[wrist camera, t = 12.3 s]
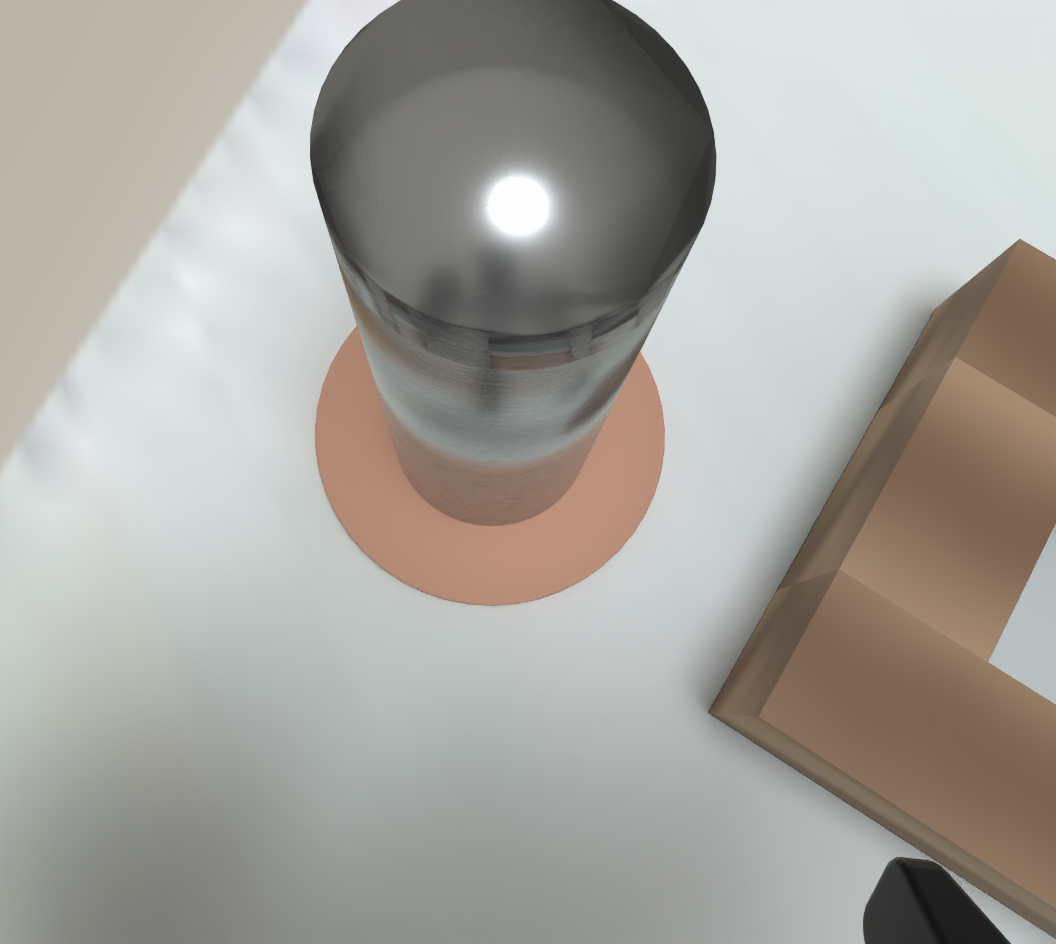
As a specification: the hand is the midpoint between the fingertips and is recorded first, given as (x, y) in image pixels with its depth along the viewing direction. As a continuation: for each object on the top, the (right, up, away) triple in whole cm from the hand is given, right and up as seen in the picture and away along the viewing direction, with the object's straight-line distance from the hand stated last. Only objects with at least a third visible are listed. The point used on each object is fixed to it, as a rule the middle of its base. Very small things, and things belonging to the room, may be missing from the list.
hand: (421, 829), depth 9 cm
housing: (+14, -1, +15) cm, 21 cm away
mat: (0, +4, +15) cm, 16 cm away
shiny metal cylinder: (0, +4, +15) cm, 15 cm away
